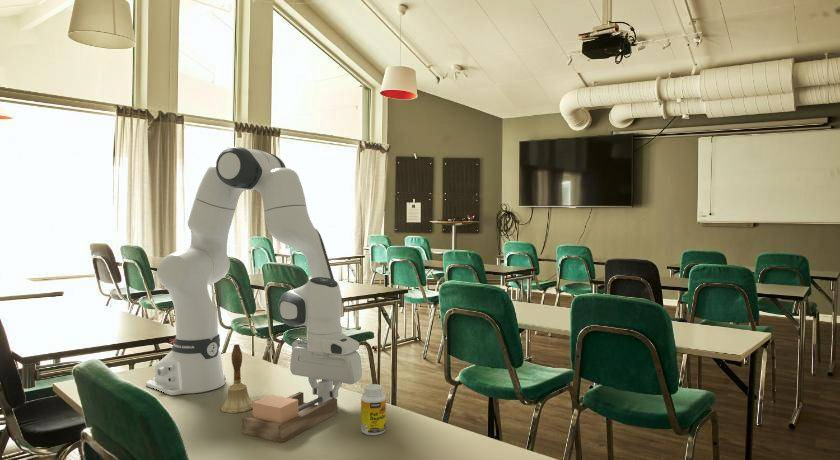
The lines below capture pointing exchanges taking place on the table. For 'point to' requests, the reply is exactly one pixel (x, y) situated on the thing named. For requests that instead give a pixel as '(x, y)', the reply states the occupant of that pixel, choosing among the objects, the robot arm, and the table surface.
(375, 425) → the supplement bottle
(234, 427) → the table surface
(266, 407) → the pull block
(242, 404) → the hand bell
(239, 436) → the table surface
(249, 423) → the shelf lane
